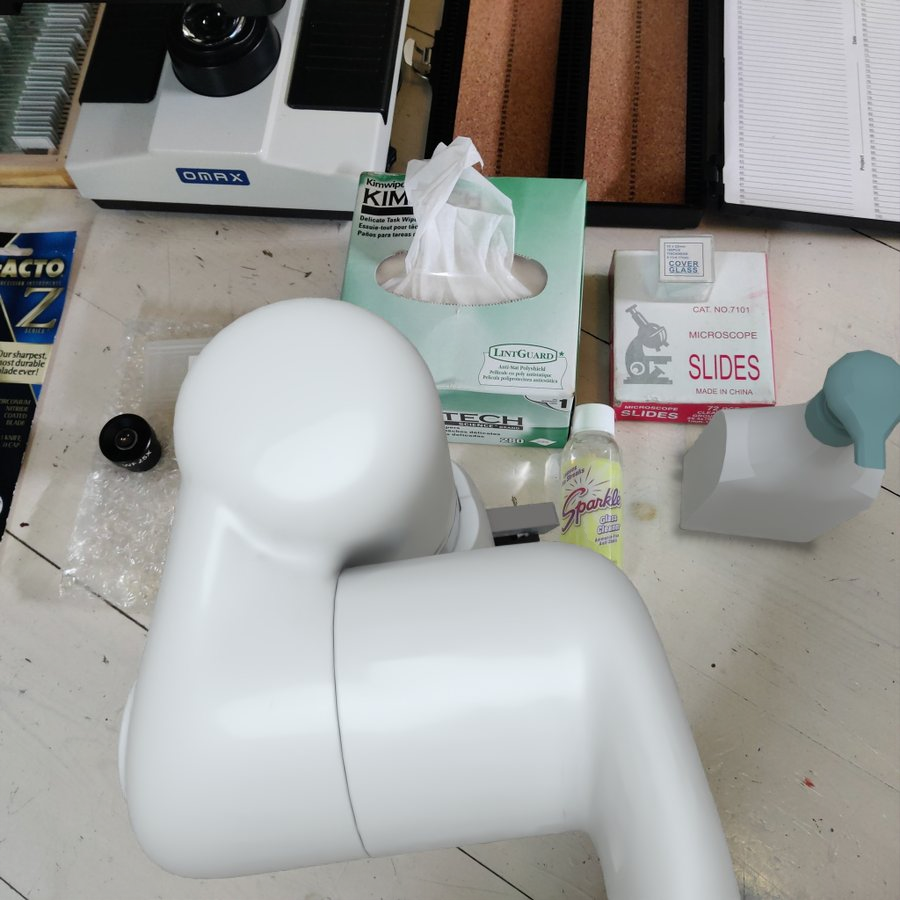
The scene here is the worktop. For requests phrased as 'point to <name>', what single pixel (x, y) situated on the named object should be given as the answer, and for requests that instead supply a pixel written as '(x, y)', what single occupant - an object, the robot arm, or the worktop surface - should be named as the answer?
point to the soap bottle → (795, 457)
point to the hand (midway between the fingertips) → (408, 576)
